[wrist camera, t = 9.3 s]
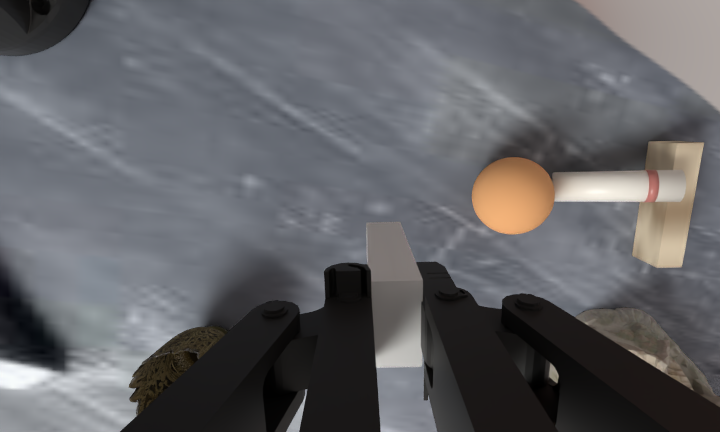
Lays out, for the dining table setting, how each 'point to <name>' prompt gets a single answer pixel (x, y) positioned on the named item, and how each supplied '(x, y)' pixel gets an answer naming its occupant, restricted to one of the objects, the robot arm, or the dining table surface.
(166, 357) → the cup
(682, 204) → the stopper rail
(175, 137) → the dining table surface
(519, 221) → the ball
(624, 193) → the pin
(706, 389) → the ceramic cottage
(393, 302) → the robot arm
